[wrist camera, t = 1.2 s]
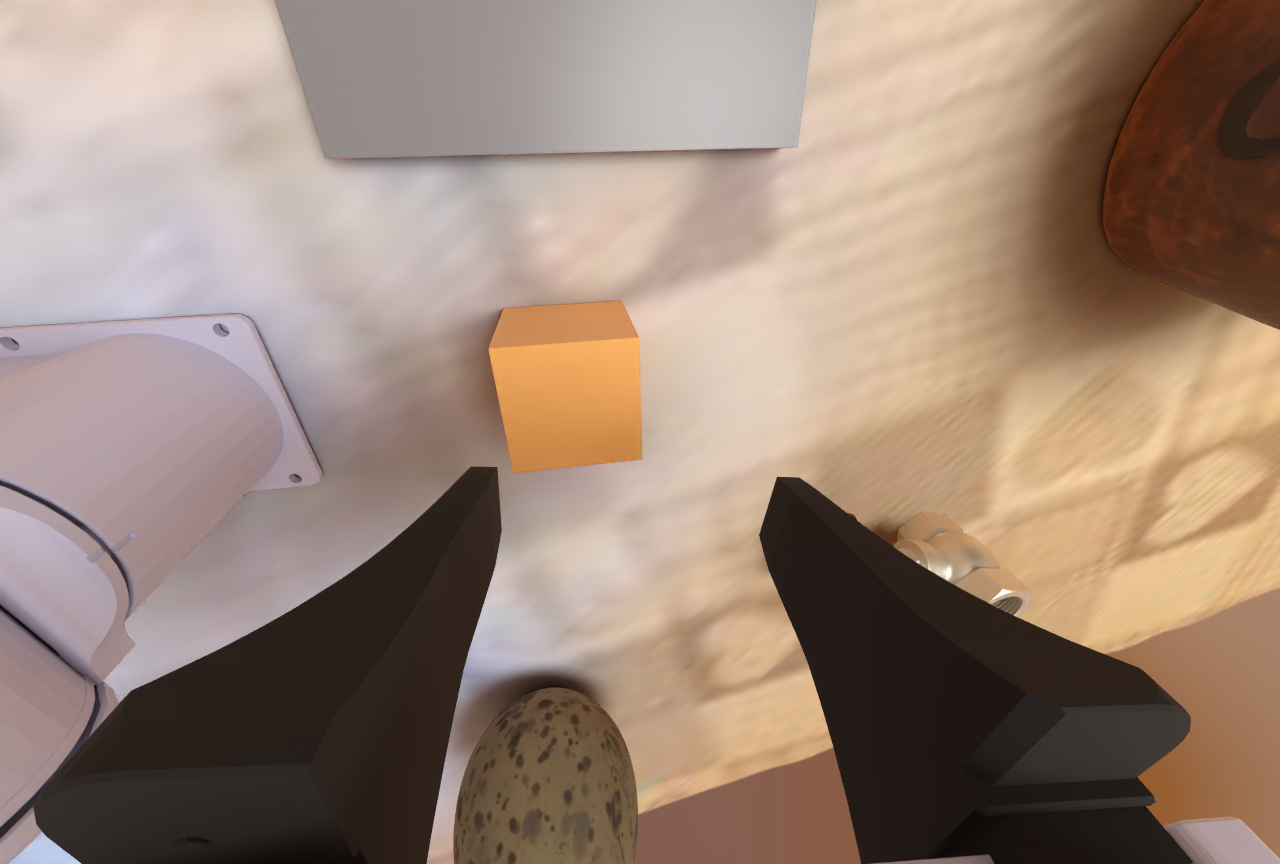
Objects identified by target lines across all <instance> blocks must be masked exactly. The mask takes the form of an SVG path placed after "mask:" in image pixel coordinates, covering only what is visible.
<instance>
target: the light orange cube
mask: <svg viewBox="0 0 1280 864" xmlns="http://www.w3.org/2000/svg"><path fill="white" fill-rule="evenodd" d="M488 350H489V355H490V360H491V365H492V370H493V375H494V380H495V385H496V390H497V395H498V400H499V405H500V410H501V415H502V420H503V425H504V429H505V434H506V439H507V444H508V449H509V454H510V459H511V464H512V469H513V473H519V472H528V471H538V470H547V469H556V468H566V467H575V466H585V465H594V464H603V463H613V462H622V461H632V460H641V459H642V439H641V400H640V361H639V337H638V335H637V332H636V330H635V328H634V326H633V324H632V322H631V320H630V318H629V315H628V313H627V311H626V309H625V307H624V305H623V303H622V301H608V302H592V303H577V304H561V305H545V306H529V307H514V308H504V309H503V311H502V314H501V317H500V319H499V322H498V324H497V327H496V330H495V332H494V335H493V337H492V340H491V343H490V345H489V348H488Z"/></svg>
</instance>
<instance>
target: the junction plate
mask: <svg viewBox="0 0 1280 864" xmlns="http://www.w3.org/2000/svg"><path fill="white" fill-rule="evenodd" d="M275 2H276V6H277V9H278V12H279V15H280V18H281V21H282V24H283V27H284V31H285V34H286V37H287V40H288V43H289V46H290V49H291V53H292V56H293V59H294V62H295V65H296V68H297V71H298V74H299V78H300V81H301V84H302V87H303V90H304V93H305V96H306V99H307V103H308V106H309V109H310V112H311V115H312V118H313V121H314V125H315V128H316V131H317V134H318V137H319V140H320V143H321V146H322V150H323V153H324V156H325V158H333V159H359V158H401V157H442V156H484V155H525V154H567V153H608V152H650V151H691V150H733V149H774V148H791V147H798V140H799V132H800V125H801V117H802V109H803V101H804V93H805V86H806V78H807V70H808V62H809V54H810V47H811V39H812V31H813V23H814V15H815V8H816V0H275Z"/></svg>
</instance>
